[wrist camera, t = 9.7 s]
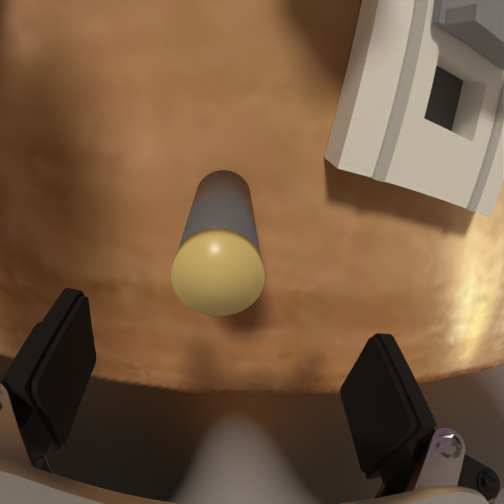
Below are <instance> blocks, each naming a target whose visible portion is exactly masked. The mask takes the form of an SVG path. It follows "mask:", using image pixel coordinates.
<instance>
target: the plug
mask: <svg viewBox="0 0 504 504" xmlns="http://www.w3.org/2000/svg"><path fill="white" fill-rule="evenodd" d="M171 282H172V286H173V289H174V291H175V293H176V294H177V296H178V297H179V299H180V300H181V301H182V302H183V303H184V304H185V305H187V306H188V307H189V308H191V309H193V310H195V311H197V312H199V313H202V314H205V315H211V316H227V315H232V314H236V313H239V312H241V311H243V310H245V309H246V308H248V307H249V306H251V305H252V304H253V303H254V302H255V301H256V300H257V299H258V297H259V296H260V294H261V292H262V290H263V287H264V282H265V274H264V268H263V262H262V258H261V255H260V251H259V245H258V238H257V232H256V226H255V220H254V214H253V208H252V201H251V195H250V190H249V187H248V185H247V183H246V181H245V180H244V179H243V178H242V177H241V176H240V175H238V174H236V173H234V172H231V171H226V170H220V171H215V172H213V173H210V174H209V175H207V176H206V177H205V178H204V179H203V180H202V181H201V182H200V184H199V186H198V189H197V192H196V195H195V198H194V201H193V204H192V207H191V211H190V214H189V217H188V220H187V223H186V226H185V230H184V233H183V236H182V240H181V243H180V246H179V249H178V251H177V253H176V256H175V259H174V262H173V266H172V270H171Z"/></svg>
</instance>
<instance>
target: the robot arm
mask: <svg viewBox="0 0 504 504" xmlns="http://www.w3.org/2000/svg"><path fill="white" fill-rule="evenodd" d="M95 362H96V351H95V345H94V339H93V332H92V325H91V317H90V309H89V301H88V298H87V297H85V296H84V293H83V292H82V291H79V290H75V289H70V288H65V289H64V290H63V292H62V293H61V295H60V296H59V297H58V299H57V300H56V302H55V303H54V305H53V306H52V307H51V309H50V310H49V312H48V313H47V315H46V316H45V318H44V319H43V321H42V322H40V323H38V324H37V325H36V326H35V327H34V329H33V330H32V332H31V333H30V335H29V336H28V338H27V340H26V341H25V343H24V344H23V346H22V348H21V349H20V351H19V352H18V354H17V356H16V357H15V359H14V361H13V363H12V364H11V366H10V368H9V370H8V371H7V373H6V374H5V376H4V378H3V380H2V382H1V383H0V504H177V503H169V502H163V501H157V500H151V499H146V498H141V497H135V496H131V495H127V494H122V493H118V492H114V491H109V490H106V489H102V488H98V487H94V486H91V485H87V484H84V483H80V482H77V481H74V480H71V479H67V478H64V477H61V476H58V475H55V474H52V472H51V469H50V467H49V465H48V463H47V460H46V458H45V456H44V455H46V452H47V449H48V447H49V448H51V449H54V450H57V451H59V449H60V446H61V444H63V445H64V444H66V442H67V439H68V436H69V433H70V430H71V427H72V424H73V422H74V419H75V416H76V413H77V410H78V407H79V405H80V402H81V399H82V396H83V394H84V391H85V389H86V386H87V383H88V381H89V378H90V376H91V373H92V371H93V368H94V366H95ZM340 395H341V399H342V402H343V405H344V409H345V413H346V416H347V420H348V423H349V427H350V431H351V434H352V438H353V441H354V445H355V449H356V453H357V456H358V460H359V464H360V468H361V470H362V472H365V474H366V478H367V479H372V478H378V477H380V476H381V478H382V484H381V486H380V488H379V490H378V491H377V493H376V495H375V497H374V499H369V500H363V501H357V502H350V503H343V504H504V489H503V488H501V489H500V482H499V478H498V476H497V474H496V473H495V472H494V471H493V470H492V469H490V468H489V467H487V466H485V465H483V464H481V463H479V462H478V461H476V460H474V459H472V458H471V457H469V456H467V455H465V445H464V442H463V440H462V438H461V436H459V434H458V433H456V432H455V431H454V430H451V429H449V428H441V429H438V430H437V431H435V429H434V427H435V426H436V425H437V424H436V422H435V420H434V417H433V415H432V413H431V411H430V409H429V407H428V405H427V402H426V401H425V398H424V396H423V394H422V392H421V390H420V388H419V386H418V384H417V382H416V380H415V378H414V376H413V374H412V372H411V370H410V368H409V366H408V364H407V362H406V360H405V358H404V356H403V354H402V352H401V350H400V348H399V346H398V345H397V343H396V341H395V339H394V337H393V336H392V335H391V334H379V333H377V334H375V335H374V336H373V337H371V338H369V340H368V341H367V343H366V345H365V347H364V349H363V350H362V352H361V354H360V356H359V358H358V359H357V361H356V363H355V364H354V366H353V368H352V370H351V371H350V373H349V375H348V376H347V378H346V380H345V381H344V383H343V385H342V386H341V390H340Z"/></svg>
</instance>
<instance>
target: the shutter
mask: <svg viewBox="0 0 504 504" xmlns="http://www.w3.org/2000/svg"><path fill="white" fill-rule="evenodd" d="M432 23H433V24H434V25H436V26H438V27H440V28H441V29H443V30H445V31H446V32H448V33H450V34H451V35H453V36H455V37H456V38H458V39H459V40H461V41H462V42H464V43H465V44H467V45H468V46H470V47H471V48H473V49H474V50H476V51H477V52H479V53H480V54H482V55H483V56H484V57H486V58H487V59H488V60H490V61H491V62H493V63H494V64H495V65H496V66H498V67H499V68H500V69H502V70H504V0H435V6H434V13H433V19H432Z"/></svg>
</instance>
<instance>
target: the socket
mask: <svg viewBox="0 0 504 504" xmlns="http://www.w3.org/2000/svg"><path fill="white" fill-rule="evenodd" d="M434 6H435V0H362V3H361V7H360V12H359V17H358V21H357V26H356V31H355V35H354V40H353V44H352V48H351V53H350V57H349V61H348V65H347V70H346V74H345V78H344V82H343V86H342V90H341V94H340V98H339V102H338V106H337V110H336V114H335V118H334V122H333V126H332V129H331V133H330V137H329V141H328V145H327V148H326V152H325V156H324V158H325V159H326V160H328V161H329V162H330V163H331V164H333V165H334V166H335V167H336V168H337V169H341V170H345V171H349V172H352V173H356V174H360V175H363V176H367V177H371V178H373V179H375V180H378V181H381V182H388V183H391V184H394V185H398V186H401V187H404V188H407V189H411V190H414V191H417V192H420V193H423V194H426V195H429V196H432V197H435V198H438V199H441V200H444V201H447V202H449V203H452V204H455V205H458V206H460V207H463V208H466V209H467V210H469V211H472V212H476V213H479V214H482V215H484V216H487V217H489V218H490V216H491V213H492V211H493V208H494V206H495V203H496V200H497V198H498V195H499V192H500V189H501V186H502V184H503V181H504V70H502V69H500V68H499V67H498V66H496V65H495V64H494V63H493V62H491V61H490V60H488V59H487V58H486V57H484V56H483V55H482V54H480V53H479V52H477V51H476V50H474V49H473V48H471V47H470V46H468V45H467V44H465V43H464V42H462V41H461V40H459V39H458V38H456V37H455V36H453V35H451V34H450V33H448V32H446V31H445V30H443V29H441V28H440V27H438V26H436V25H434V24H433V23H432V19H433V13H434Z"/></svg>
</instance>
